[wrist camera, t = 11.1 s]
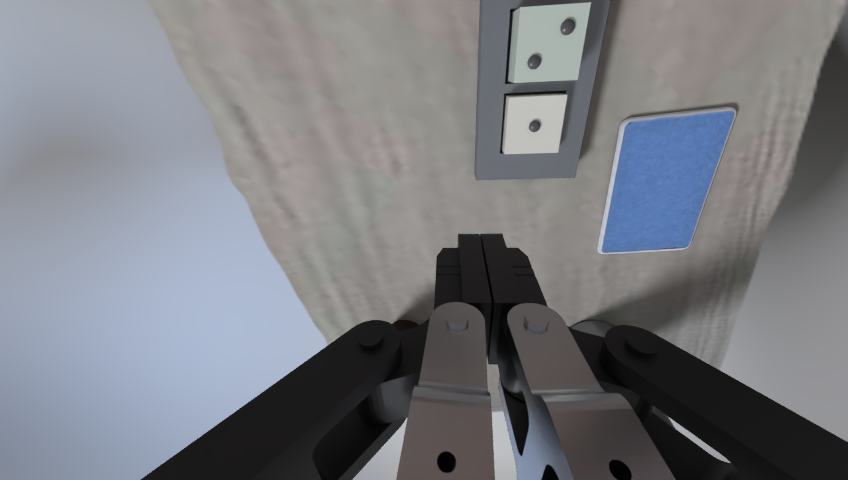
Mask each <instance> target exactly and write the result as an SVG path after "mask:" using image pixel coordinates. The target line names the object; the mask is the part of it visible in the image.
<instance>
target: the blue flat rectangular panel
mask: <svg viewBox="0 0 848 480" xmlns="http://www.w3.org/2000/svg"><path fill="white" fill-rule="evenodd" d="M735 117H736V110H735V109H734V108H732V107H720V108H710V109H701V110H692V111H682V112H673V113H664V114H656V115H647V116H639V117H630V118H627V119H625V120H623V121H622V123H621V125H620V128H619V134H618V140H617V145H616V151H615V157H614V162H613V168H612V173H611V178H610V184H609V189H608V195H607V200H606V206H605V211H604V216H603V221H602V226H601V232H600V236H599V243H598V248H597V250H598V252H599V253H601V254H616V253H632V252H649V251H667V250H683V249H686V248H688V247H689V246H690V244H691V242H692V239H693V236H694V233H695V230H696V227H697V224H698V222H699V219H700V216H701V213H702V210H703V207H704V204H705V201H706V199H707V196H708V193H709V190H710V187H711V184H712V182H713V179H714V176H715V173H716V170H717V168H718V165H719V162H720V159H721V157H722V154H723V151H724V148H725V145H726V142H727V140H728V137H729V134H730V131H731V128H732V126H733V123H734V120H735Z"/></svg>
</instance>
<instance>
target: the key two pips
mask: <svg viewBox="0 0 848 480" xmlns="http://www.w3.org/2000/svg"><path fill="white" fill-rule="evenodd" d="M590 6H591V2H588V3H574V4H559V5H545V6H530V7H520V8H518V9H517V10H516V11H514V12H513V21H512V34H511V47H510V61H509V74H508V81H510V82H512V83H527V82H547V81H568V80H578V75H579V69H580V63H581V57H582V52H583V46H584V40H585V35H586V29H587V23H588V17H589V12H590Z"/></svg>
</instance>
